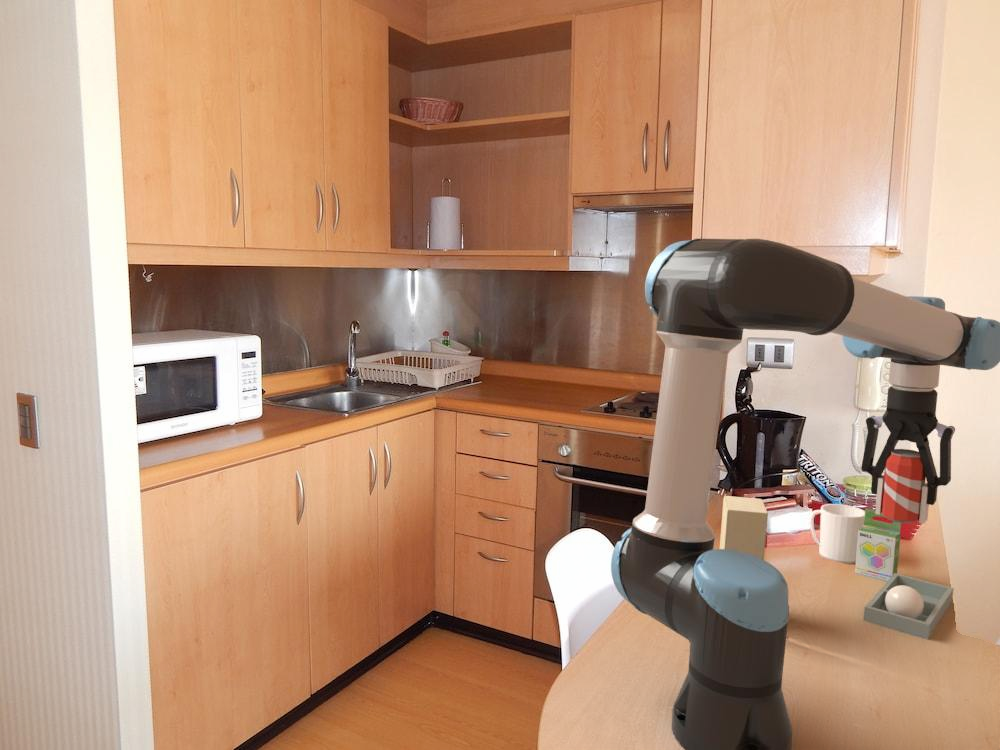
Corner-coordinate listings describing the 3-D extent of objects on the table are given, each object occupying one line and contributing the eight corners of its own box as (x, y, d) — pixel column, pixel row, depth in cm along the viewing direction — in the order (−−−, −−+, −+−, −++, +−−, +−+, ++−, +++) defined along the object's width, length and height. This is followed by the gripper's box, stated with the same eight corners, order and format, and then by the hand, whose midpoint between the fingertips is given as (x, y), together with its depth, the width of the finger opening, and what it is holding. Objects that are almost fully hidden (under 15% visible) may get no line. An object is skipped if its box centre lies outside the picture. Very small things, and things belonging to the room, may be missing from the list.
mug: (857, 551, 170) (861, 506, 168) (866, 567, 161) (871, 519, 160) (803, 546, 172) (807, 501, 171) (809, 561, 164) (813, 513, 162)
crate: (927, 644, 129) (929, 625, 128) (862, 624, 135) (864, 606, 135) (951, 604, 144) (953, 587, 144) (892, 589, 150) (894, 573, 150)
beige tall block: (762, 632, 131) (772, 512, 128) (717, 627, 133) (726, 508, 130) (757, 612, 139) (766, 498, 136) (714, 607, 141) (722, 495, 138)
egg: (917, 630, 132) (921, 597, 131) (879, 619, 135) (882, 587, 135) (925, 618, 136) (929, 586, 135) (888, 608, 140) (891, 576, 139)
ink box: (853, 577, 156) (859, 512, 154) (859, 571, 159) (865, 508, 157) (891, 587, 152) (898, 520, 150) (896, 581, 155) (903, 515, 153)
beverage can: (920, 527, 133) (927, 459, 131) (879, 520, 136) (885, 453, 134) (921, 517, 138) (928, 451, 136) (882, 511, 141) (887, 446, 139)
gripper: (981, 391, 130) (967, 523, 134) (859, 378, 142) (849, 500, 146) (973, 397, 124) (959, 535, 128) (847, 383, 137) (837, 510, 140)
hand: (901, 516), depth 137 cm, fingers closed on beverage can, 6 cm apart
